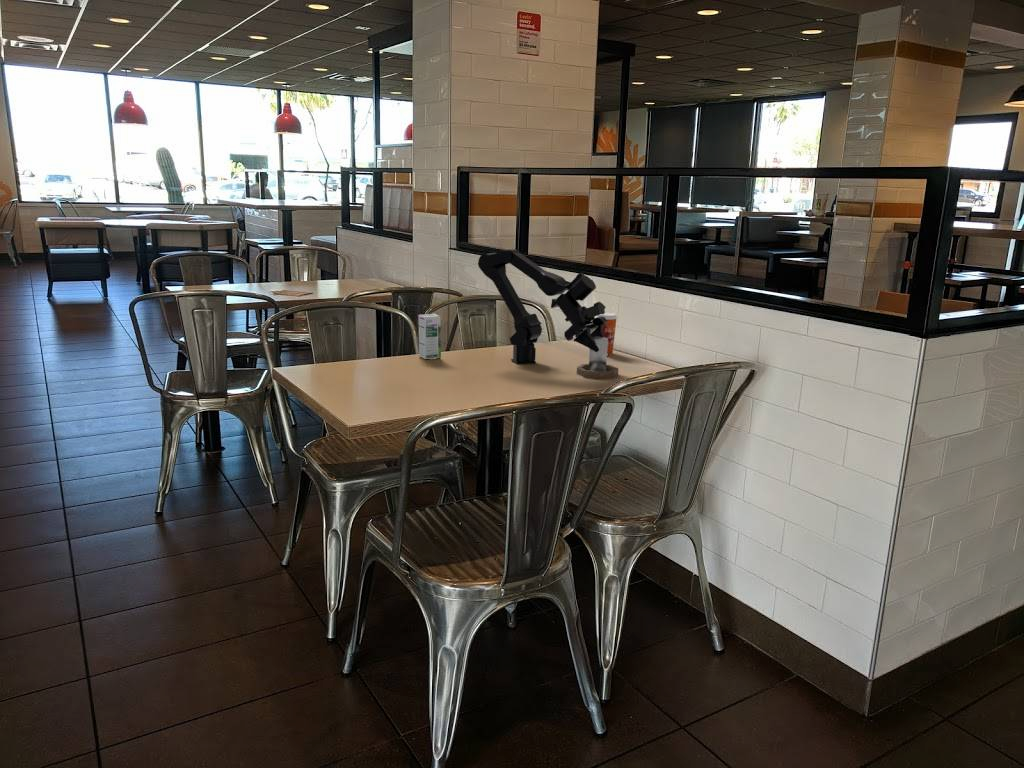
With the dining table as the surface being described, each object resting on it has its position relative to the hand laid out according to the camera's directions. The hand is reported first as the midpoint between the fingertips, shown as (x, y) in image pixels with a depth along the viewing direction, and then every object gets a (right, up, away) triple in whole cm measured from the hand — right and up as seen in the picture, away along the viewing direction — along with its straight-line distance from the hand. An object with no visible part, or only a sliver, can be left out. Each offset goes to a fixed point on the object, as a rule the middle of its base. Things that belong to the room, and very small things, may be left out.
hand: (602, 349), depth 235 cm
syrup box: (-55, -2, +20) cm, 59 cm away
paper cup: (+5, 0, +34) cm, 34 cm away
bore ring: (-1, -7, +3) cm, 8 cm away
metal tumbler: (-1, -6, +2) cm, 7 cm away
